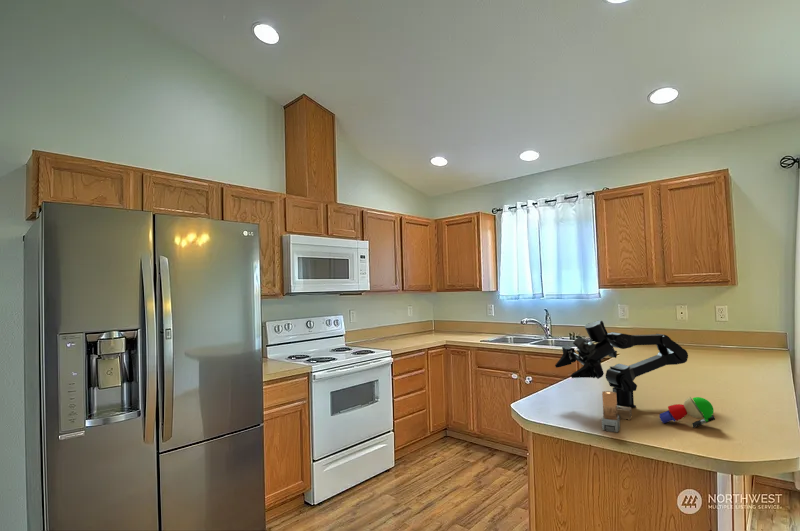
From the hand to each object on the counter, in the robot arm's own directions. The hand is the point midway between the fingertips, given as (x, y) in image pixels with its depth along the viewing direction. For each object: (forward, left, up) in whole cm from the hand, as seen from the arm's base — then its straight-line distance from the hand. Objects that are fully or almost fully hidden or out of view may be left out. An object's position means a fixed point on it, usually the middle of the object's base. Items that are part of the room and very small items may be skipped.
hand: (563, 371), depth 155 cm
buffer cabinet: (-15, +9, -14) cm, 22 cm away
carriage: (-7, +22, -14) cm, 27 cm away
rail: (-9, +18, -14) cm, 24 cm away
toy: (-32, +18, -14) cm, 40 cm away
